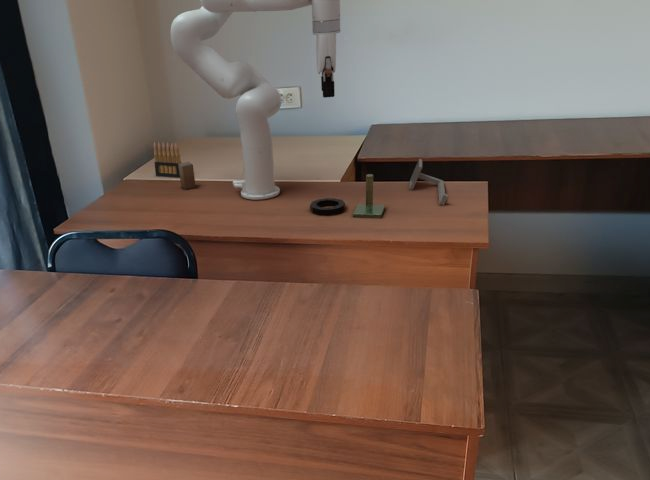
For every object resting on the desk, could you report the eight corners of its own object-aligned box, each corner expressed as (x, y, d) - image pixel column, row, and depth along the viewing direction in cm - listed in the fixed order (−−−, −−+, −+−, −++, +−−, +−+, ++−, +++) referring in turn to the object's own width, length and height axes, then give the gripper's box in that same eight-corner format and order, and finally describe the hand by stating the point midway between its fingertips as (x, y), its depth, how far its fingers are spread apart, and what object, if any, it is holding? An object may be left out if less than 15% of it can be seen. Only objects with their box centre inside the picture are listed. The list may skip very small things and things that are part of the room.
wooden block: (196, 187, 225) (193, 163, 221) (185, 189, 224) (181, 166, 220) (191, 184, 228) (188, 161, 224) (180, 186, 227) (177, 163, 223)
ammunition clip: (184, 176, 238) (179, 142, 232) (181, 177, 236) (176, 143, 230) (158, 174, 242) (153, 140, 236) (155, 175, 240) (150, 142, 234)
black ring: (307, 214, 195) (307, 208, 194) (314, 203, 203) (314, 197, 202) (341, 216, 192) (341, 210, 191) (347, 204, 200) (347, 198, 199)
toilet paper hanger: (439, 214, 195) (450, 191, 191) (409, 204, 195) (419, 180, 191) (437, 190, 214) (447, 168, 210) (409, 180, 214) (419, 158, 210)
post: (353, 217, 191) (353, 179, 185) (357, 207, 197) (357, 170, 191) (381, 218, 188) (382, 179, 183) (384, 208, 195) (385, 171, 189)
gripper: (311, 25, 188) (313, 89, 197) (313, 31, 173) (315, 100, 182) (338, 23, 187) (339, 87, 196) (342, 29, 173) (343, 98, 181)
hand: (327, 93), depth 189 cm, fingers open, 9 cm apart
